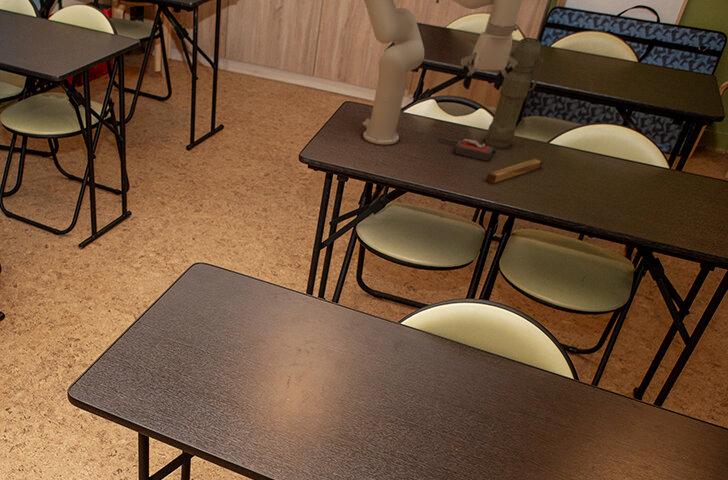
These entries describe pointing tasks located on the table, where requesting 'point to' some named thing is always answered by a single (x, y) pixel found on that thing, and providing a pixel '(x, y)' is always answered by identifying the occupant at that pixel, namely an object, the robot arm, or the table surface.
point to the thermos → (514, 93)
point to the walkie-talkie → (471, 148)
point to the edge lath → (514, 170)
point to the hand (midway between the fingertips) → (481, 88)
